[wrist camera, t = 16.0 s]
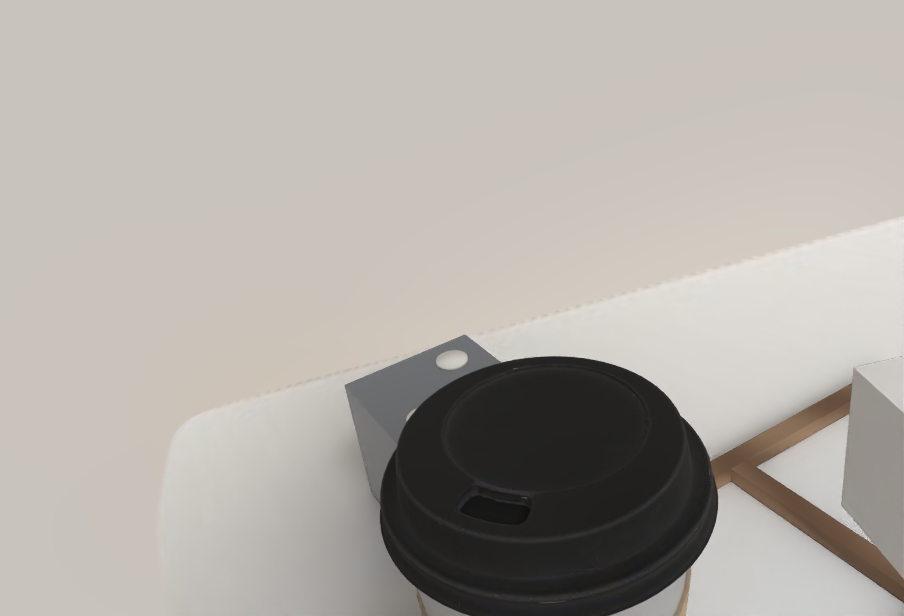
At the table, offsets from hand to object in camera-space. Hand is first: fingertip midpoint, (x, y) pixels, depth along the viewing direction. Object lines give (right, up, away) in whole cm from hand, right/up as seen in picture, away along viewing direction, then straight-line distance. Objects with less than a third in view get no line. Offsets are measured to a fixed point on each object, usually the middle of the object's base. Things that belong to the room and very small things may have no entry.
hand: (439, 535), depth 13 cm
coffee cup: (+5, -13, +18) cm, 23 cm away
